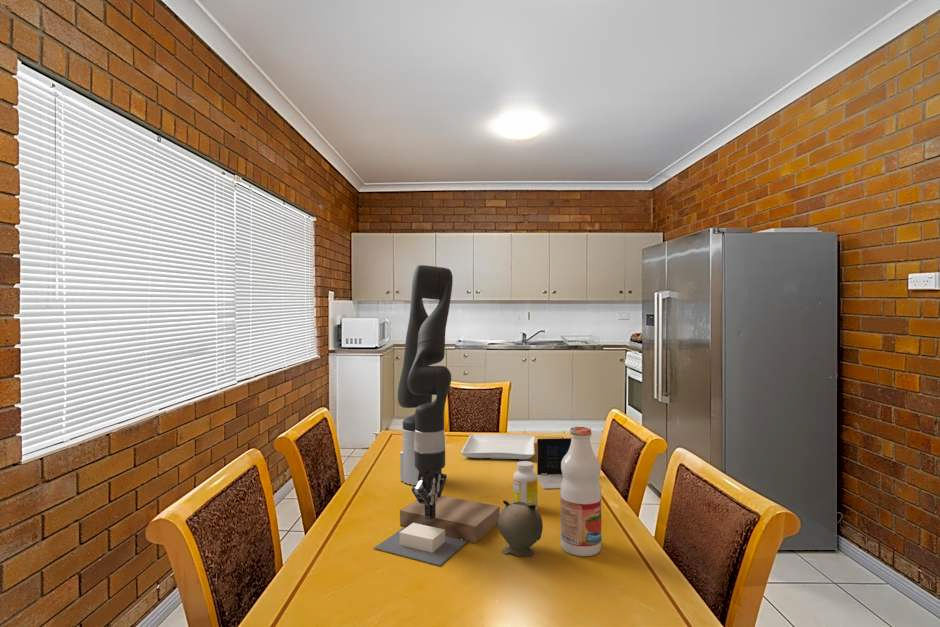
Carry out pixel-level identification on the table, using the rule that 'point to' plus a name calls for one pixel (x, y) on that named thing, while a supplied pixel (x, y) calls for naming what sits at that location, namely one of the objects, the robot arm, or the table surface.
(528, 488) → the supplement bottle
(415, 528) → the thick cream block
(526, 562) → the table surface
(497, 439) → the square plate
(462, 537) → the brown wooden block
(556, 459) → the laptop
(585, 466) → the fruit juice
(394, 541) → the mat
